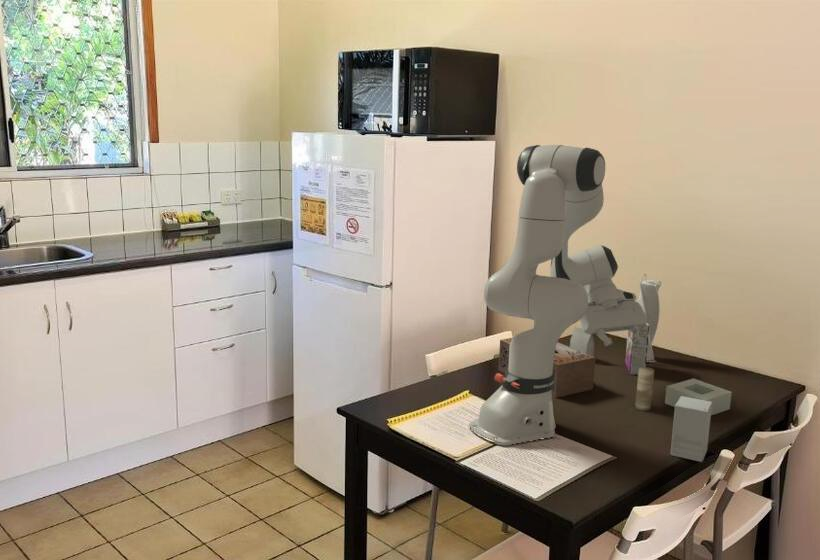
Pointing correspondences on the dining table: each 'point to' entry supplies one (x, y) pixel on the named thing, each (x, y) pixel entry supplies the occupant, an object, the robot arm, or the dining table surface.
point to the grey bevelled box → (582, 341)
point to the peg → (644, 388)
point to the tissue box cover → (561, 368)
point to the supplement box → (691, 428)
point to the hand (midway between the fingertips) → (623, 343)
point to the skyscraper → (650, 310)
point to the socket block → (699, 394)
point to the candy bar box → (637, 350)
